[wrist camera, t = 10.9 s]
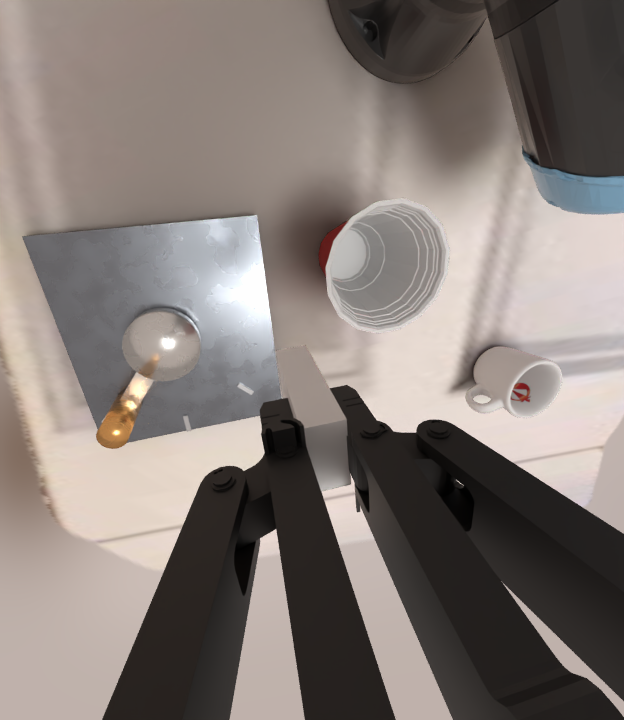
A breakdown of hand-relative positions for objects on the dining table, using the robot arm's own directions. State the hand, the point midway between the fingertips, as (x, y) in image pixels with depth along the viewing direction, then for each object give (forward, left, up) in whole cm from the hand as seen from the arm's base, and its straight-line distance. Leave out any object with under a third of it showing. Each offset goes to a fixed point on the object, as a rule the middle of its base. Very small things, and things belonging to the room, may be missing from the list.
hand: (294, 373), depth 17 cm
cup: (+16, +30, -23) cm, 41 cm away
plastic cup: (-2, +10, -23) cm, 25 cm away
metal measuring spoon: (+6, -11, -21) cm, 25 cm away
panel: (+4, -9, -23) cm, 24 cm away
